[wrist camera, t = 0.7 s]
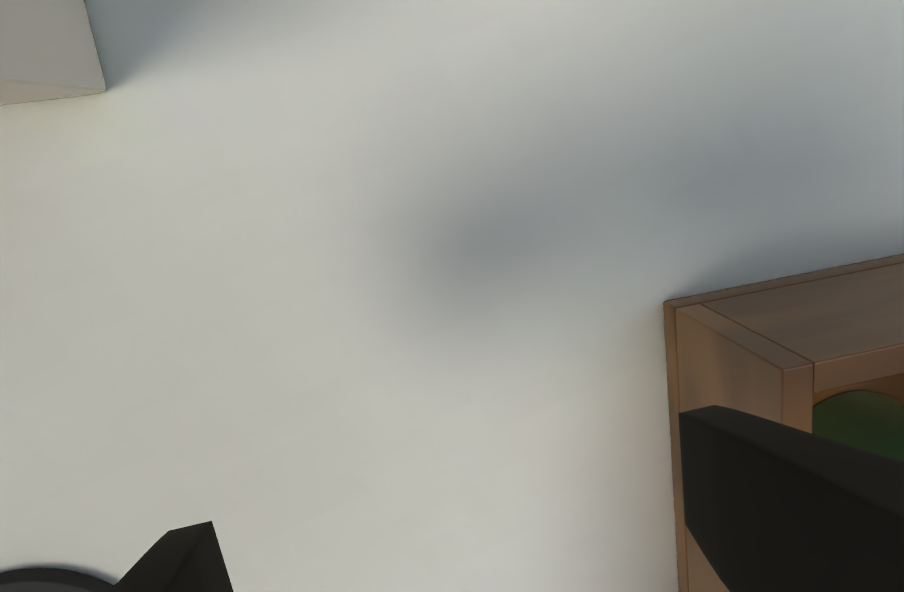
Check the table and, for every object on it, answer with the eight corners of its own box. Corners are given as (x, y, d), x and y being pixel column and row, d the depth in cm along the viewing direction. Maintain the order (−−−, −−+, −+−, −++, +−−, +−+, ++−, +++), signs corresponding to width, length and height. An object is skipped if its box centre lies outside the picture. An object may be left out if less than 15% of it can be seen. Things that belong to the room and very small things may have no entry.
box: (662, 300, 20) (782, 369, 15) (988, 236, 22) (1208, 277, 16) (680, 647, 24) (782, 803, 19) (956, 573, 26) (1125, 698, 20)
